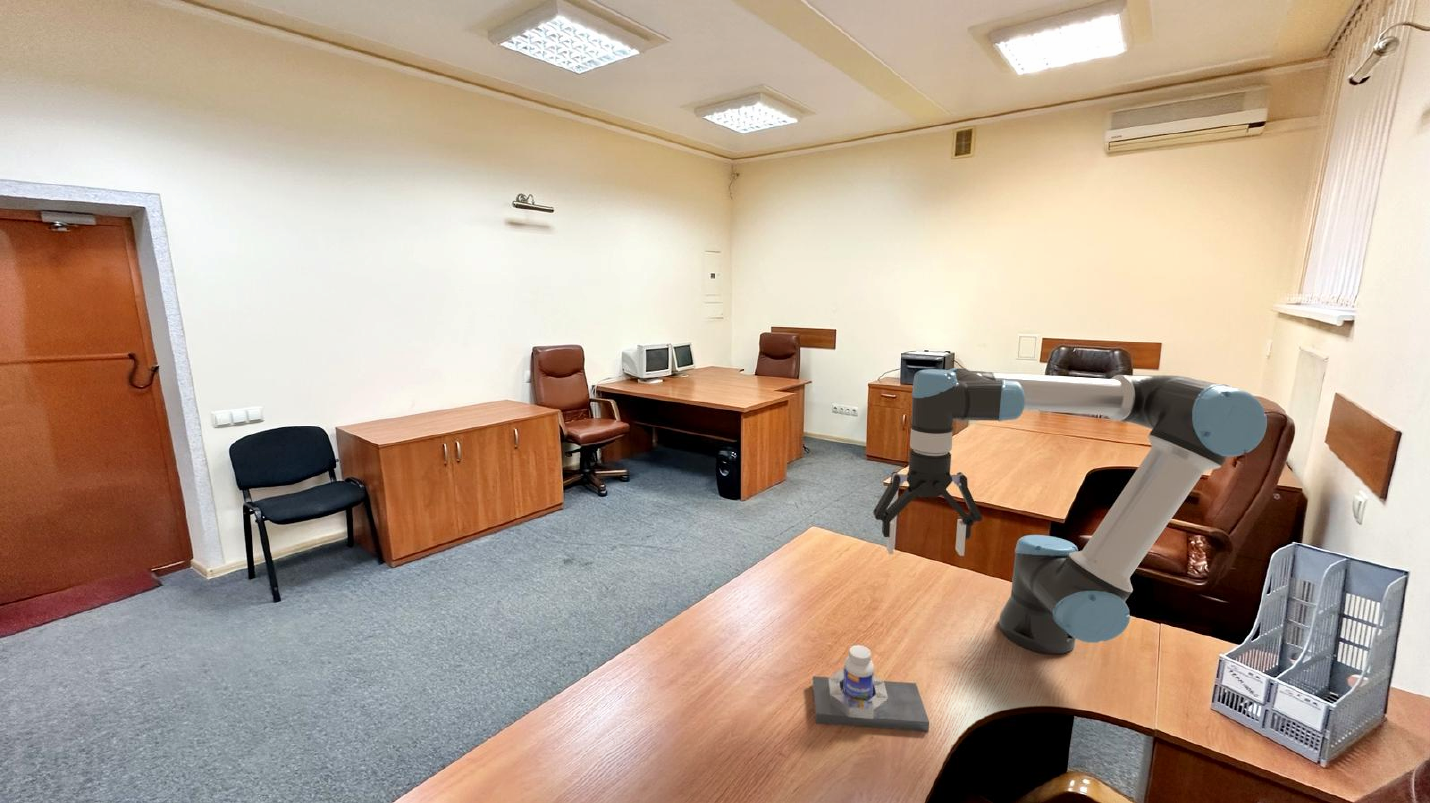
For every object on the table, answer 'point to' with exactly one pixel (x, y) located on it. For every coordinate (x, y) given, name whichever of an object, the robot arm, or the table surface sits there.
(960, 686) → the table surface
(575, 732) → the table surface
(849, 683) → the pill bottle
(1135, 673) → the table surface
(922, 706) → the hub plate
